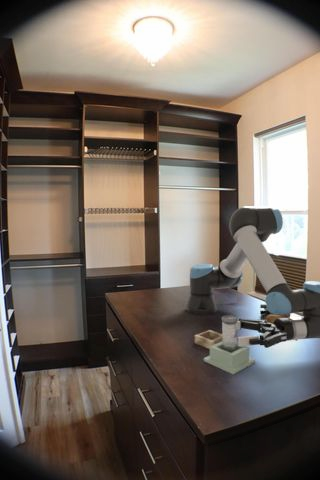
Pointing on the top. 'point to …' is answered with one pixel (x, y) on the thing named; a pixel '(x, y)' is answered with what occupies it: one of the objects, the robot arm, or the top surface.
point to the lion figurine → (275, 317)
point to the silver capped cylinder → (229, 333)
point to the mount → (208, 338)
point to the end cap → (264, 312)
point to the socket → (229, 358)
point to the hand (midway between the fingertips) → (229, 333)
